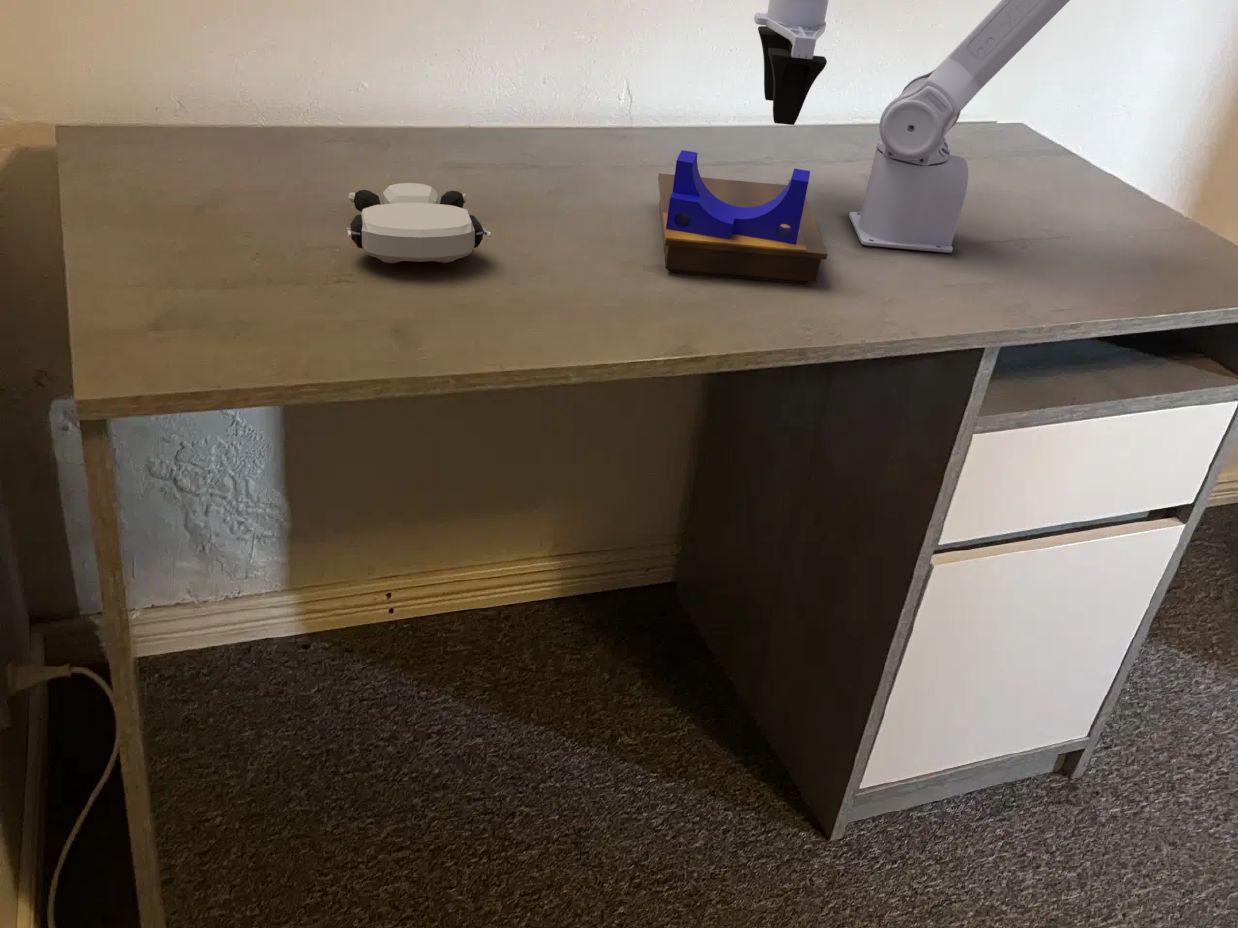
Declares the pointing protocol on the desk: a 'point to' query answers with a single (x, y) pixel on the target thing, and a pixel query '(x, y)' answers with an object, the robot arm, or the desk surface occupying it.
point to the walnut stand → (742, 239)
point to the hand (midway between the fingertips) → (779, 111)
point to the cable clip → (733, 207)
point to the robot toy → (414, 224)
